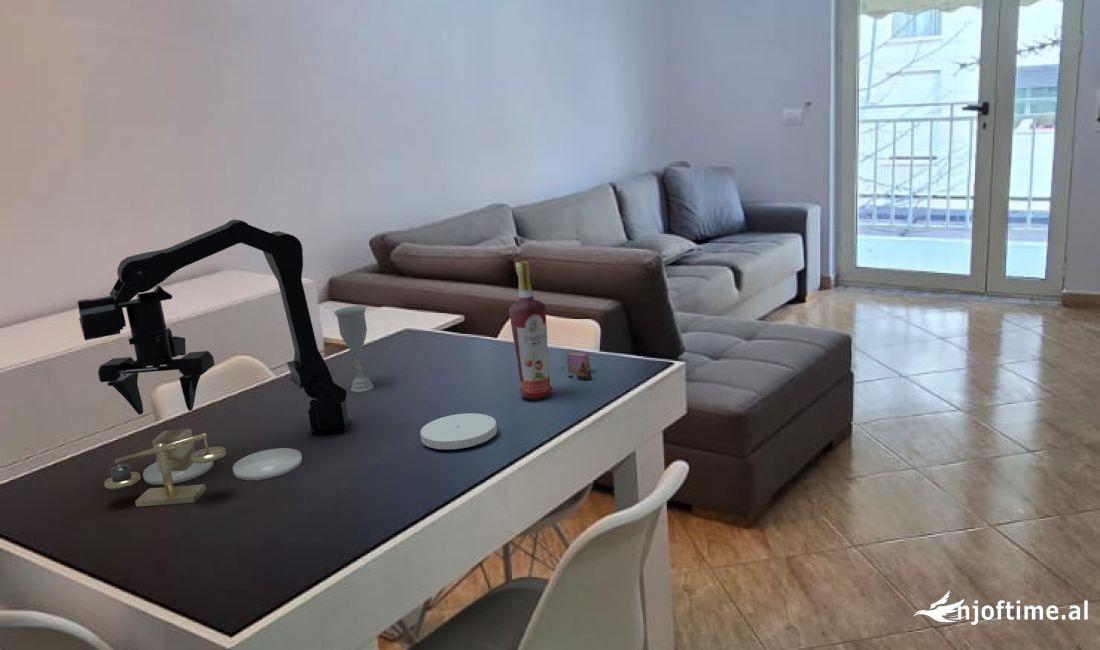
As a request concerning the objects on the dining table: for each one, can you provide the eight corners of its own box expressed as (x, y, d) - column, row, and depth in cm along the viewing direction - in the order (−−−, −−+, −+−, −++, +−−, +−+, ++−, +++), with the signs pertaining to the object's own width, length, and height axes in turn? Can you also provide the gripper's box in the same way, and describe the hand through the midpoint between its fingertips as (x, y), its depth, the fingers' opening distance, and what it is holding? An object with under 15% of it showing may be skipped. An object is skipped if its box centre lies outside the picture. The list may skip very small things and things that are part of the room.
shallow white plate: (310, 450, 172) (309, 445, 172) (290, 477, 161) (289, 472, 161) (247, 455, 173) (246, 450, 173) (223, 482, 162) (222, 477, 161)
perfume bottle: (552, 380, 200) (550, 360, 199) (582, 363, 210) (580, 344, 209) (599, 386, 194) (597, 365, 193) (628, 368, 203) (626, 349, 202)
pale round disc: (223, 455, 174) (222, 450, 174) (197, 482, 163) (196, 477, 163) (162, 460, 175) (161, 455, 175) (131, 487, 164) (130, 482, 163)
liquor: (526, 405, 185) (511, 268, 178) (513, 395, 192) (498, 263, 185) (560, 397, 188) (546, 261, 181) (545, 388, 195) (532, 257, 187)
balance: (238, 486, 159) (226, 426, 156) (226, 501, 154) (213, 438, 151) (119, 495, 161) (105, 435, 158) (103, 509, 155) (88, 448, 152)
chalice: (370, 393, 203) (358, 313, 198) (341, 394, 204) (328, 315, 200) (382, 382, 210) (371, 305, 205) (354, 383, 211) (342, 306, 207)
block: (197, 459, 171) (191, 428, 170) (185, 470, 166) (179, 439, 165) (171, 461, 171) (164, 430, 170) (159, 472, 167) (152, 441, 165)
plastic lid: (406, 445, 171) (404, 432, 171) (462, 421, 181) (461, 408, 180) (456, 460, 162) (455, 447, 161) (513, 434, 172) (511, 421, 171)
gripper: (218, 312, 169) (233, 393, 173) (119, 320, 171) (136, 400, 175) (192, 328, 159) (209, 414, 163) (87, 336, 160) (107, 421, 164)
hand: (166, 412), depth 166 cm, fingers open, 9 cm apart
